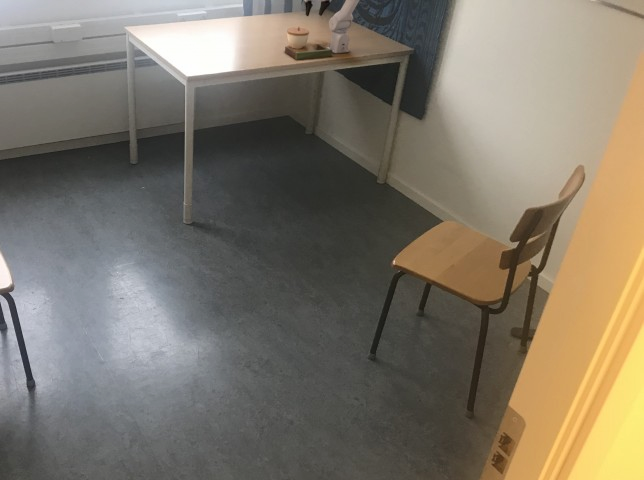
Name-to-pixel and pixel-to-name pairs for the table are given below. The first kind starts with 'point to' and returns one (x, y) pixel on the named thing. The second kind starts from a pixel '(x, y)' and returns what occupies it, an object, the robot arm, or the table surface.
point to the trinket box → (297, 37)
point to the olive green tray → (310, 53)
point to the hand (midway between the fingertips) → (313, 15)
